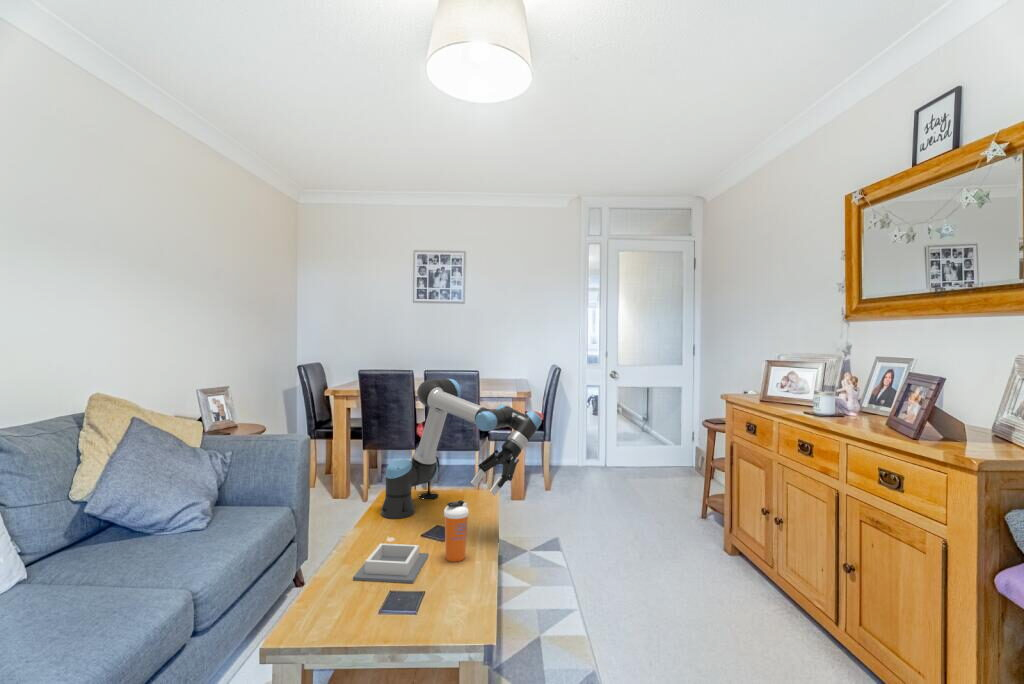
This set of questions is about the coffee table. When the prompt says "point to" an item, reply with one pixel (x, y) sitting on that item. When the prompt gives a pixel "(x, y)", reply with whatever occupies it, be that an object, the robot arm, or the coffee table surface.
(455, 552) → the shaker bottle
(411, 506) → the robot arm
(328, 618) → the coffee table surface
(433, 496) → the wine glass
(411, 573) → the holder
